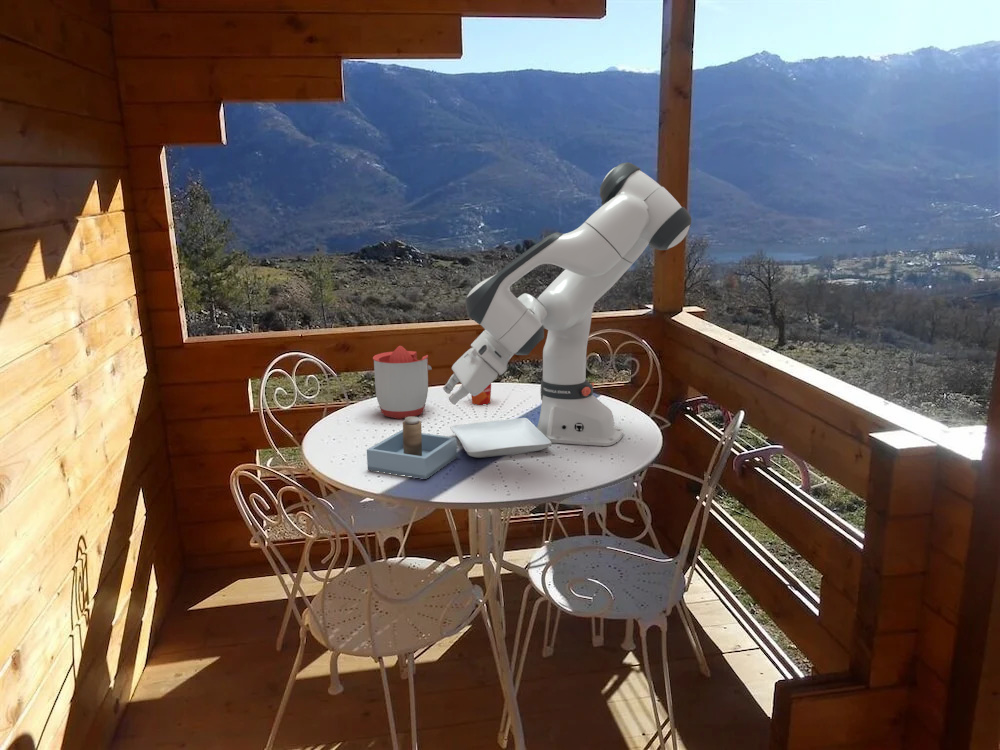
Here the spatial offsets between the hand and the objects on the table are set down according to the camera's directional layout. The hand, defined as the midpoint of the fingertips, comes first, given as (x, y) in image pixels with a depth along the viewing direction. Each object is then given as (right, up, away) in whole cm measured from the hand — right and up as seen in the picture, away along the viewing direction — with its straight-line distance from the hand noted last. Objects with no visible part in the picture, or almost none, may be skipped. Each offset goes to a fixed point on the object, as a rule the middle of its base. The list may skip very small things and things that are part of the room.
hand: (448, 396), depth 157 cm
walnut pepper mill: (-8, -15, +1) cm, 17 cm away
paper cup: (+6, -4, +51) cm, 51 cm away
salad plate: (+12, -13, +14) cm, 22 cm away
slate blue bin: (-8, -16, +1) cm, 18 cm away
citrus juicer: (-15, -6, +41) cm, 44 cm away
